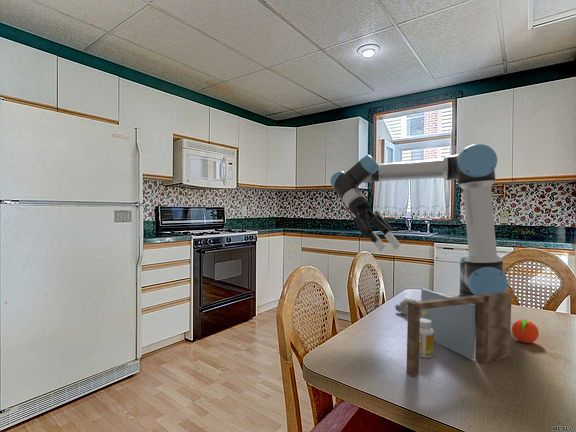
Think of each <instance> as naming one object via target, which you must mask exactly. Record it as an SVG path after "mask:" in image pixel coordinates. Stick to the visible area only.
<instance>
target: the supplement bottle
mask: <svg viewBox="0 0 576 432" xmlns="http://www.w3.org/2000/svg"><path fill="white" fill-rule="evenodd" d="M430 327H431V320H428V319H424V318H420V334H419V358H425V359H426V358H427V359H428V358H429V359H430V358H432V357H434V342H435V341H434V331H433V329H432V328H430Z"/></svg>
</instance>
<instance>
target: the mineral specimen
mask: <svg viewBox="0 0 576 432" xmlns="http://www.w3.org/2000/svg"><path fill="white" fill-rule="evenodd" d="M413 301H417V300H416V299H411V298H404V299H403V300H402V301H401V302H399V304H396V305H395V306H394V307H395V310H396V311H397V312H399V313H402V314H403V315H404V316H406V317H408V302H413ZM420 318H421V309H420Z"/></svg>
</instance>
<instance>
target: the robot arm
mask: <svg viewBox="0 0 576 432" xmlns="http://www.w3.org/2000/svg"><path fill="white" fill-rule="evenodd" d="M497 165H498V156H497V153H496V151H495V150H494V149H493V148H492V147H490V146H489V145H486V144H483V143H475V144H471V145H469V146H466V147H464V148H463V149H462V150H460V152H459V153H457V154H454V155H446V156H444V157H442V158H439V159H438V158H437V159H427V160H425V159H424V160H415V161H414V160H413V161H399V162H398V161H397V162H389V163H388V162H387V163H386V162H385V163H377V162H376V160H375V159H374V158H373V157H372V156H371V155H370V154H366V155H365V156H363V157H362V158H360V160H358V161H357V163H355V164H354V165H353V166H352V167H350V168H349V169H348V170H346V172H344V171H342V170H340V171H337V172H335V173H334V174H333V175H332V176H331V178H330V182H329V183H330V185H331V187H332V188H333V189H334V191H335V193H336V194H337V195H338V196H339V198H340V199H341V201H343V203H344V204H345V206H346V207H347V208H348V210H349V211H350V213H351V214H350V218H351V219H352V220H353V221H354V223H355V225H356V226H357V228H358V230H359V232H360V233H361V235H362V236H364V237H365V238H366V239H368V238H369V239H370V240H371V242H372V243H373V244H374V246H375V248H376V249H377V250H378V251H379V252H382V250H384V248H385V247H386V245H385V243H384V242H383V241H382V240H381V237H379V235H378V234H377V233H376V232H375V231H373V228H372V226H371V225H373V226H374V227H375V228H377V230H379V231H381V232H382V234H384V238H385V239H386V240H387V242H388V243H389V244H390V245H391V247H392V248H393V249H394V250H397V249H398V248H399V247H400V246H401V245H402V244H401V243H400V241H398V239H397V238H396V236H395V235H394V234H393V233H392V231H394V228H393V227H392V226H391V225H390V224H389V223H388V222H387V221H386V219H384V218H383V216H382V215H381V214H380V212H379V211H377V210H376V211H375V212H374V211H373V210H371V209H370V203H369V201H368V200H367V199H366V197H365V196H364V195H363V194H362V192H361V191H360V190H359V189H358V188H357V187H359V186H360V185H361V184H362V183H366V184H370V183H373V182H387V181H388V182H390V181H393V182H394V181H409V180H424V179H425V180H427V179H428V180H429V179H444V180H445V181H457V186H458V187H460V188H461V189H462V190H463V192H462V193H463V203H464V213H465V216H464V217H465V225H466V226H465V227H466V236H467V237H466V238H467V247H468V255H467V256H462V257H461V258H460V260H459V261H460V262H459V294H458V296H457V297H462V296H471V295H481V294H491V293H501V292H506V293H507V292H508V288H509V280H508V277H507V275H506V274H505V273H504V272H505V271H504V263H503V259H502V258H501V257H500V256H499V255H498V253H497V244H496V243H497V242H496V228H495V220H494V209H493V208H494V207H493V197H492V186H493V185H494V183H496V173H495V171H496V168H497ZM473 304H475V305H476V307H475V321H476V316H477V303H473Z"/></svg>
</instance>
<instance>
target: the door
mask: <svg viewBox="0 0 576 432" xmlns="http://www.w3.org/2000/svg"><path fill="white" fill-rule="evenodd" d="M452 297H453V296H451V295H450V296H449V295H447V294H442V293H440V292H437V291H433V290H431V289H427V288H421V297H420V301H422V300H432V299H442V298H452ZM475 307H476V305H475V304H464V305H455V306H447V307H438V308H429V309H421V318H424V319H428V320H431V327H430V328H432V329H433V331H434V342H435V343H437V344H439V345H441V346H443V347H445V348H446V349H449V350H451V351H453V352H455V353H457V354H459V355H461V356H463V357H465V358H467V359H469V360H475V346H476V320H475Z"/></svg>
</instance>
